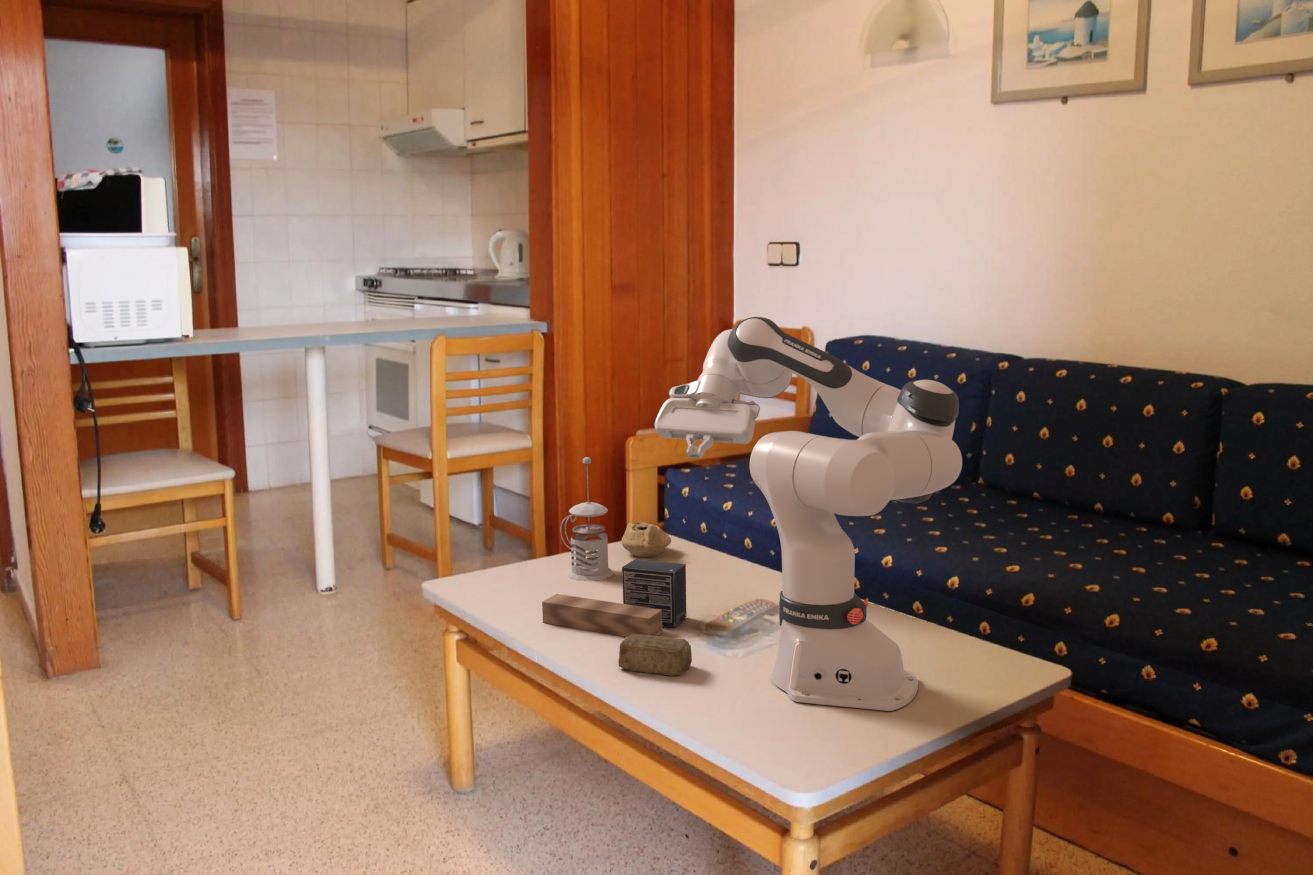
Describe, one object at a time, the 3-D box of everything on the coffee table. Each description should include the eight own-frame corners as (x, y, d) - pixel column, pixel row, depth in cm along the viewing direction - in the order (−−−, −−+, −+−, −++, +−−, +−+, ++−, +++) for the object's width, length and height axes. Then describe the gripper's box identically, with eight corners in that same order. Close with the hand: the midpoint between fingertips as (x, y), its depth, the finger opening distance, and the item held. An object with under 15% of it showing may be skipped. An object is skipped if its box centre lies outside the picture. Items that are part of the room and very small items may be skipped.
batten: (662, 631, 192) (661, 609, 191) (649, 640, 188) (649, 618, 187) (557, 614, 202) (556, 593, 201) (542, 622, 198) (542, 601, 197)
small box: (688, 616, 199) (687, 562, 197) (675, 628, 193) (674, 572, 192) (636, 610, 203) (635, 557, 201) (622, 621, 197) (620, 566, 196)
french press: (597, 583, 220) (593, 463, 215) (550, 575, 226) (546, 458, 221) (622, 570, 228) (619, 454, 224) (576, 563, 234) (573, 450, 230)
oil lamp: (645, 541, 250) (644, 508, 249) (682, 556, 238) (681, 521, 236) (604, 549, 244) (603, 515, 243) (640, 565, 232) (639, 529, 230)
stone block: (683, 679, 171) (682, 649, 170) (615, 671, 175) (614, 642, 174) (693, 665, 177) (693, 637, 176) (628, 658, 180) (627, 630, 179)
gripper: (766, 411, 214) (747, 469, 207) (673, 406, 223) (653, 461, 216) (758, 392, 209) (739, 450, 202) (663, 387, 218) (642, 443, 211)
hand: (693, 456), depth 209 cm, fingers closed
